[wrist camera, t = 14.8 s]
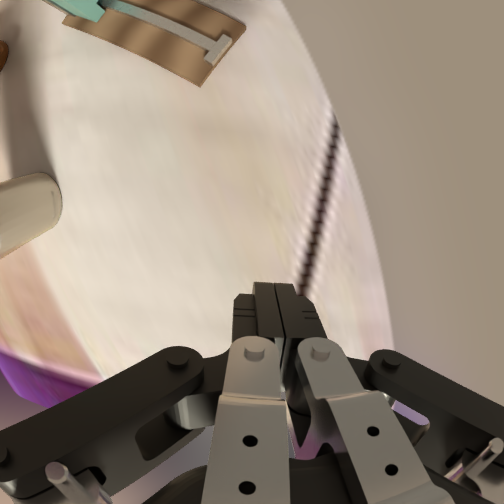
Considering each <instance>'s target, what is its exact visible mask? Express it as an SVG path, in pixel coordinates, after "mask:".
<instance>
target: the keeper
mask: <svg viewBox="0 0 504 504" xmlns="http://www.w3.org/2000/svg"><path fill="white" fill-rule="evenodd" d="M52 1H53V2H55V3H57V4H58V5H60V6H61V7H63V8H65V9H66V10H68V11H69V12H71V13H73V14H74V15H76V16H79V17H82V18H85V19H88V20H91V21H94V22H98V20H99V19H100V18H101V16H102V15H103V14H104V13H105V11H104V10H103V9H102V8H101V7H100V6H98V5H97V4H96V3H97V2H98V0H52Z"/></svg>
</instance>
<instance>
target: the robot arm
mask: <svg viewBox="0 0 504 504" xmlns="http://www.w3.org/2000/svg"><path fill="white" fill-rule="evenodd" d="M61 210H62V200H61V194H60V191H59V188H58V186H57V184H56V183H55V181H54V180H53V179H52V178H51V177H50V176H49V175H47V174H45V173H34V174H30V175H26V176H22V177H18V178H15V179H11V180H8V181H4V182H1V183H0V259H2V258H3V257H5V256H7V255H8V254H10V253H11V252H13V251H14V250H16V249H18V248H19V247H21V246H23V245H24V244H26V243H28V242H29V241H31V240H33V239H34V238H36V237H38V236H40V235H41V234H43V233H45V232H46V231H48V230H50V229H52V228H53V227H54V226H55V225H56V224H57V222H58V220H59V218H60V215H61ZM281 392H285V393H286V401H285V400H283V399H281ZM395 400H397V401H399V402H401V403H403V404H404V405H406V406H408V407H409V408H411V409H413V410H415V411H416V412H418V413H420V414H422V415H424V416H425V417H427V418H428V420H429V423H428V424H427V425H418V424H416V423H415V422H413V421H411V420H409V419H408V418H406V417H404V416H402V415H401V414H399V413H397V412H396V411H394V410H392V409H391V407H392V405H393V404H394V402H395ZM287 424H288V428H289V432H290V436H291V440H292V444H293V448H294V452H295V459H292V458H289V455H288V434H287ZM212 425H214V431H213V436H212V442H211V448H210V454H209V460H208V465H204V466H200V467H197V468H194V469H192V470H190V471H187V472H185V473H183V474H181V475H180V476H178V477H176V478H175V479H173V480H172V481H171V482H169V483H168V484H167V485H166V486H164V487H163V488H162V489H160V490H159V491H158V492H157V493H155V494H154V495H153V496H151V497H150V498H149V499H147V500H146V501H145V502H143V503H142V504H504V407H503V406H501V405H499V404H497V403H495V402H493V401H491V400H489V399H487V398H485V397H483V396H481V395H479V394H477V393H475V392H473V391H472V390H469V389H467V388H466V387H463V386H462V385H460V384H458V383H456V382H454V381H452V380H450V379H448V378H446V377H444V376H442V375H440V374H438V373H437V372H435V371H433V370H431V369H429V368H427V367H425V366H423V365H421V364H419V363H417V362H416V361H413V360H412V359H410V358H408V357H406V356H404V355H402V354H400V353H398V352H396V351H393V350H387V349H383V350H377V351H375V352H374V353H372V354H371V356H370V358H369V361H366V360H360V359H354V358H349V357H346V355H345V354H344V352H343V350H342V348H341V347H340V346H339V345H338V344H337V343H335V342H333V341H331V340H329V339H328V338H327V336H326V333H325V331H324V328H323V326H322V323H321V321H320V319H319V316H318V314H317V313H316V309H315V306H314V304H313V303H312V302H311V301H310V300H309V299H308V298H306V297H305V296H297V295H296V292H295V289H294V286H293V284H287V283H266V282H254V283H253V292H252V294H239V295H238V296H237V297H236V298H235V299H234V307H233V325H232V344H231V346H230V348H229V349H228V350H227V351H226V352H224V353H223V354H221V355H218V356H215V357H210V358H202V356H201V355H200V354H199V353H198V352H197V351H195V350H194V349H191V348H188V347H183V346H173V347H168V348H165V349H163V350H161V351H159V352H157V353H155V354H153V355H152V356H150V357H148V358H146V359H144V360H142V361H141V362H139V363H137V364H135V365H133V366H131V367H129V368H127V369H126V370H124V371H122V372H120V373H118V374H116V375H114V376H112V377H110V378H109V379H107V380H105V381H103V382H101V383H99V384H97V385H95V386H93V387H91V388H89V389H87V390H85V391H83V392H81V393H79V394H77V395H75V396H73V397H71V398H69V399H67V400H65V401H63V402H61V403H59V404H57V405H55V406H53V407H51V408H49V409H47V410H45V411H42V412H40V413H38V414H36V415H34V416H32V417H30V418H28V419H26V420H23V421H21V422H19V423H17V424H15V425H12V426H10V427H8V428H6V429H3V430H1V431H0V487H1V488H2V490H3V491H4V492H5V493H6V494H7V495H8V496H10V497H11V499H12V500H13V502H14V504H113V502H112V499H111V496H112V495H114V494H116V493H117V492H119V491H121V490H122V489H124V488H126V487H127V486H129V485H130V484H132V483H133V482H135V481H136V480H138V479H139V478H141V477H142V476H144V475H145V474H147V473H148V472H150V471H151V470H152V469H154V468H155V467H157V466H158V465H159V464H161V463H162V462H164V461H165V460H167V459H168V458H169V457H171V456H172V455H173V454H175V453H176V452H177V451H179V450H180V449H181V448H183V447H184V446H185V445H187V444H188V443H189V442H190V441H192V440H193V439H194V438H196V437H197V436H198V435H199V434H201V432H203V430H204V429H205V427H207V426H212Z"/></svg>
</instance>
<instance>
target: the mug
mask: <svg viewBox="0 0 504 504" xmlns="http://www.w3.org/2000/svg"><path fill="white" fill-rule="evenodd" d="M7 55H8V46H7V44H6V43H5V42H4V41H1V40H0V71H1V70H2V68H3V66H4V64H5V62H6V59H7Z"/></svg>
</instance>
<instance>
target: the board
mask: <svg viewBox="0 0 504 504" xmlns="http://www.w3.org/2000/svg"><path fill="white" fill-rule="evenodd" d="M118 1H121V2H124V3H127V4H130V5H133V6H136V7H139V8H141V9H144V10H147V11H149V12H152V13H154V14H157V15H159V16H162V17H164V18H167V19H169V20H171V21H174V22H176V23H178V24H180V25H183V26H185V27H187V28H189V29H191V30H193V31H196V32H198V33H200V34H202V35H204V36H206V37H208V38H210V39H212V40H214V41H215V42H217V41H218V40H219V39H220V37H221V36H222V35H223V34H224V35H226V36H228V37H230V38H232V44H231V45H230V46H229V47H228V48H227V50H226V51H225V52H224V53H223V55H222V56H221V57H220V58H219V60H218V61H217V62H216V63H215V65H214V66H211V65H209V64H207V63H206V62H205V61H204V59H203V58H204V57H205V56H206V55H207V53H208V52H206V51H204V50H202V49H200V48H198V47H196V46H194V45H192V44H190V43H188V42H186V41H184V40H182V39H180V38H178V37H176V36H174V35H172V34H169V33H167V32H165V31H163V30H161V29H158V28H156V27H154V26H151V25H149V24H146V23H144V22H141V21H139V20H136V19H134V18H131V17H129V16H126V15H123V14H120V13H118V12H115V11H112V10H109V9H106V8H103V7H101V8H102V9H103V10H104V11H105V13H104V14H103V15H102V16H101V18H100V19H99V20H98V22H94V21H91V20H88V19H85V18H82V17H79V16H76V17H72V16H69V15H67V16H66V17H65V19H64V20H63V22H62V24H64V25H66V26H69V27H72V28H75V29H77V30H80V31H83V32H85V33H88V34H91V35H93V36H96V37H98V38H100V39H103V40H105V41H108V42H110V43H112V44H115V45H117V46H119V47H121V48H124V49H126V50H128V51H130V52H132V53H135V54H137V55H139V56H141V57H143V58H145V59H147V60H149V61H151V62H153V63H155V64H157V65H159V66H161V67H163V68H165V69H167V70H169V71H171V72H173V73H175V74H177V75H178V76H180V77H182V78H184V79H186V80H188V81H189V82H191V83H193V84H195V85H196V86H198V87H201V86H202V84H203V83H204V82H205V80H206V79H207V78H208V76H209V75H210V74H211V72H212V71H213V70H214V68H215V67H216V66H217V64H218V63H219V62H220V61H221V59H222V58H223V57H224V56H225V54H226V53H227V52H228V51H229V49H230V48H231V47H232V46H233V45H234V43H235V42H236V41H237V40H238V39H239V37H240V36H241V35H242V34H243V33H244V32H245V30H246V26H245V25H243V24H241V23H239V22H237V21H235V20H233V19H231V18H229V17H227V16H225V15H223V14H221V13H219V12H217V11H215V10H213V9H210V8H208V7H206V6H204V5H202V4H199V3H197V2H194V1H192V0H118Z"/></svg>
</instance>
